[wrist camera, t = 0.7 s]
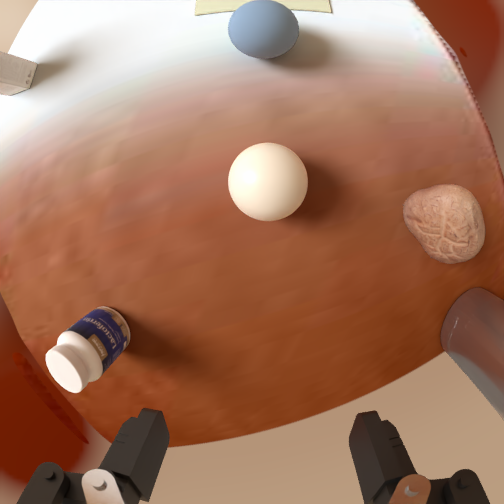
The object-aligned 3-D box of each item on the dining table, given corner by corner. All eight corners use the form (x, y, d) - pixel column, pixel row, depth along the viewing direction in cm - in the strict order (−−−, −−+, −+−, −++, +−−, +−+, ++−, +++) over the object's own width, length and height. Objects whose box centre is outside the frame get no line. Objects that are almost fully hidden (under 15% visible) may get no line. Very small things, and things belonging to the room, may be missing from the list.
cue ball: (302, 149, 22) (312, 136, 16) (303, 217, 24) (313, 225, 18) (233, 150, 23) (221, 137, 17) (234, 217, 24) (223, 226, 18)
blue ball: (293, 22, 19) (298, -12, 13) (298, 69, 21) (305, 38, 15) (233, 24, 20) (224, -11, 14) (232, 70, 21) (222, 39, 15)
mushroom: (447, 247, 23) (495, 267, 15) (402, 266, 24) (445, 294, 16) (434, 176, 22) (485, 175, 14) (385, 190, 23) (431, 193, 15)
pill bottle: (138, 324, 27) (92, 376, 18) (123, 356, 29) (82, 407, 19) (98, 295, 27) (43, 334, 17) (87, 328, 28) (39, 370, 18)
